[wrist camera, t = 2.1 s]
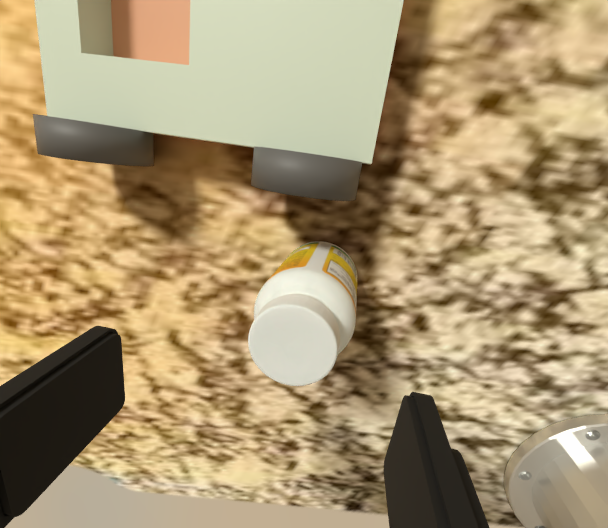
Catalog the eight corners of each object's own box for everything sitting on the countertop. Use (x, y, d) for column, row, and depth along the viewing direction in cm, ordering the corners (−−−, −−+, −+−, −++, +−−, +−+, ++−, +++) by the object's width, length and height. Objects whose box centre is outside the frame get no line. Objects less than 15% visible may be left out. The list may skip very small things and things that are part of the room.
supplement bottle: (365, 248, 21) (370, 307, 12) (347, 317, 23) (340, 413, 14) (289, 232, 22) (240, 276, 13) (278, 300, 23) (227, 382, 14)
